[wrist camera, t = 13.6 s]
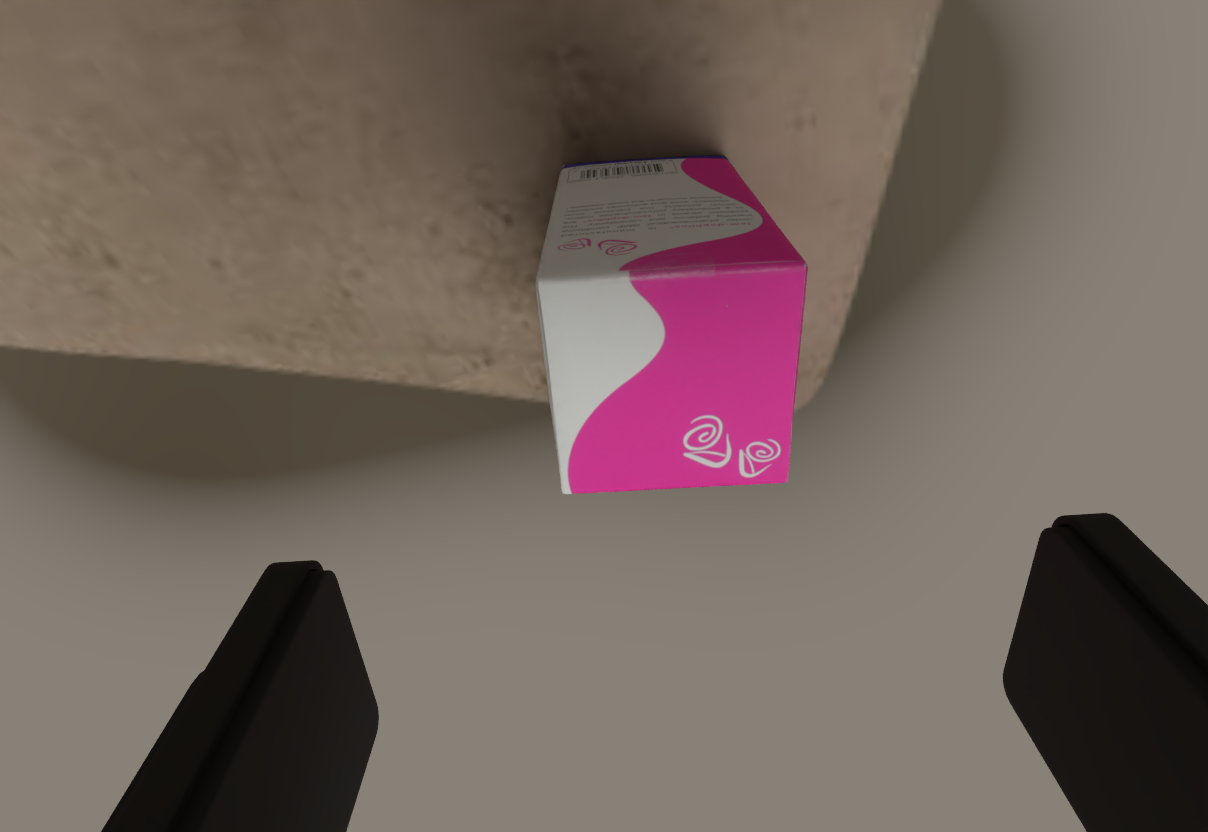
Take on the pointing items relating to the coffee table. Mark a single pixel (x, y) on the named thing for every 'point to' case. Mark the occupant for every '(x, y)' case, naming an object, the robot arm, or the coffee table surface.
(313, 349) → the coffee table surface
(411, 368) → the coffee table surface
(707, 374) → the supplement box
